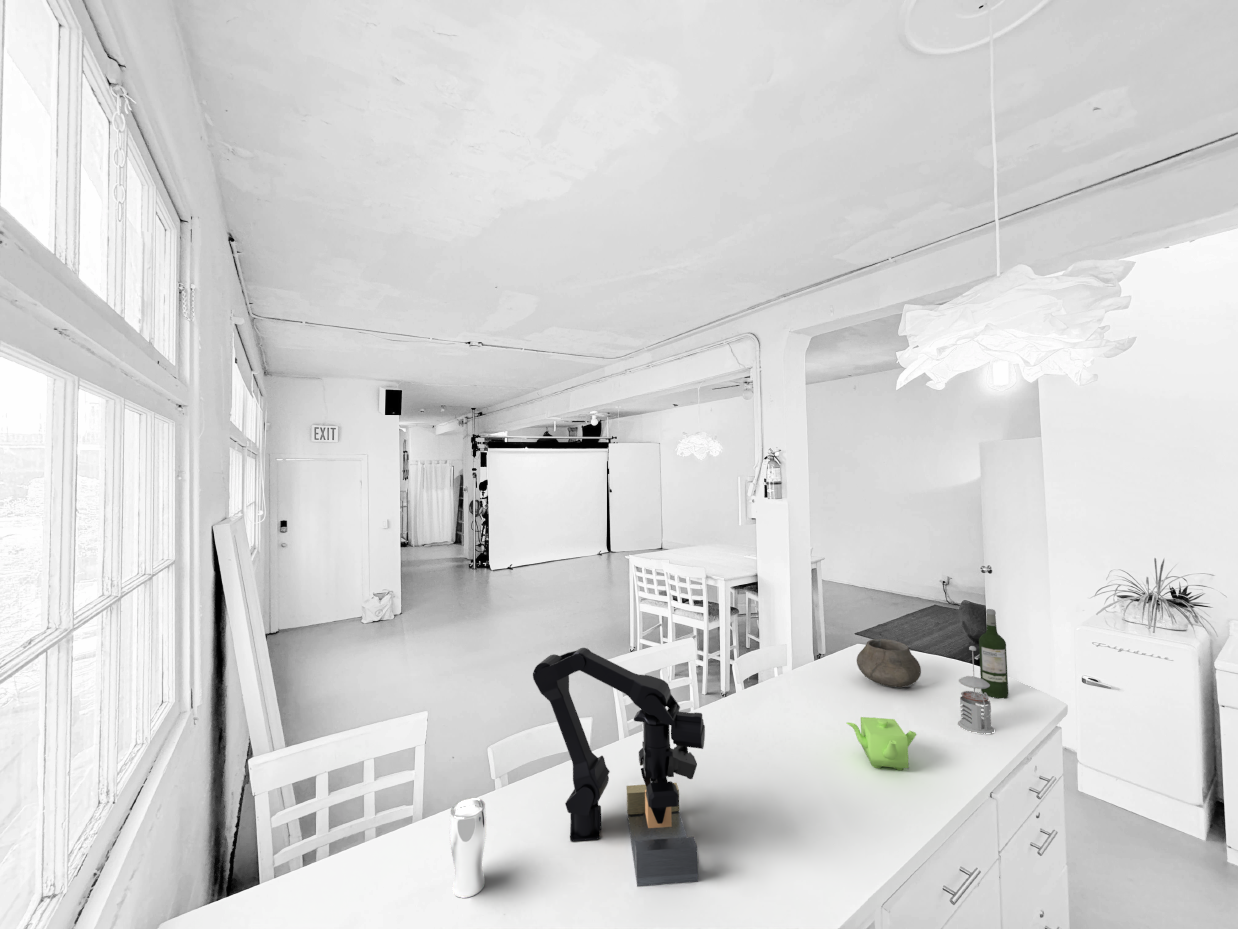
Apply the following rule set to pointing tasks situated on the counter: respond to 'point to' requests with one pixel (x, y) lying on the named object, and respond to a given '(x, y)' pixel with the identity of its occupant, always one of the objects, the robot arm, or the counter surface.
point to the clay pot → (888, 663)
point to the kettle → (884, 742)
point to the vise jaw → (640, 799)
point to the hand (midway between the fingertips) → (658, 815)
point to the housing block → (651, 818)
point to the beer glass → (468, 846)
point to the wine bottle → (993, 659)
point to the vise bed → (657, 834)
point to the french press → (969, 707)
